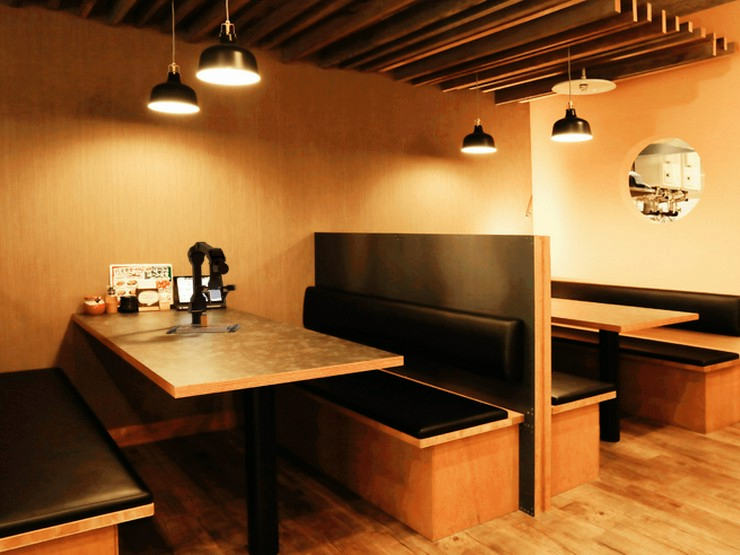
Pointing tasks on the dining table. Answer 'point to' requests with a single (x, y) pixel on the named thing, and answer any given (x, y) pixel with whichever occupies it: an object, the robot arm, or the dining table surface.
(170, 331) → the cord
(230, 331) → the cord
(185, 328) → the faceplate
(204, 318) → the block
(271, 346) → the dining table surface
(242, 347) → the dining table surface
